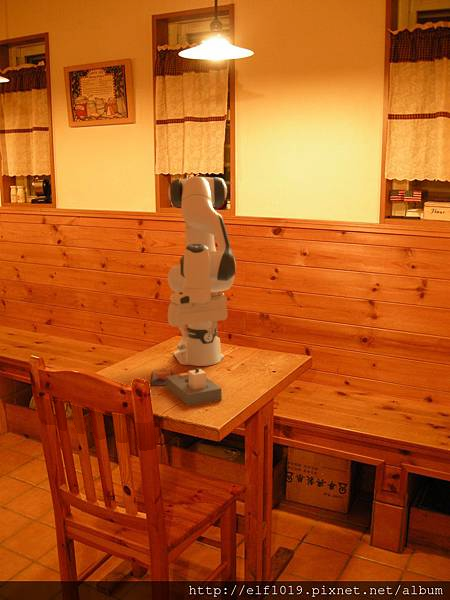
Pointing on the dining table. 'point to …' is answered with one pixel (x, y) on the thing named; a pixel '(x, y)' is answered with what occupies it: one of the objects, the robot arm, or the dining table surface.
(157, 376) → the smartphone
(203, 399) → the grey rectangular box
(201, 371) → the block with round knob
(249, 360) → the dining table surface
